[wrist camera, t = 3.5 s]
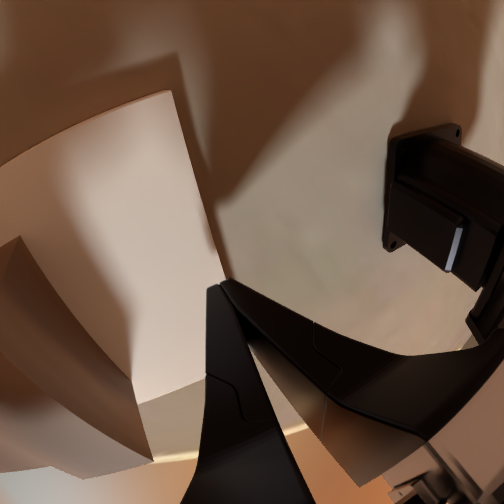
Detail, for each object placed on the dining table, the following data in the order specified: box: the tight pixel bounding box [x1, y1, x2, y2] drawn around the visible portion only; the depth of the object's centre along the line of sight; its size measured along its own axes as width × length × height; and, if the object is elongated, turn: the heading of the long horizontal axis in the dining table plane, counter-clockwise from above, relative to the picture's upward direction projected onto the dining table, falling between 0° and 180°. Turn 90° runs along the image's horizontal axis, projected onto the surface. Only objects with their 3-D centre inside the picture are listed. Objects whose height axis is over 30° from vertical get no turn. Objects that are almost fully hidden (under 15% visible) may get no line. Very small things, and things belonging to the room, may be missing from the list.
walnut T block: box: [0, 235, 154, 479], centre depth 7 cm, size 8×8×4 cm
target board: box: [0, 90, 226, 405], centre depth 9 cm, size 18×12×1 cm, turn 100°
